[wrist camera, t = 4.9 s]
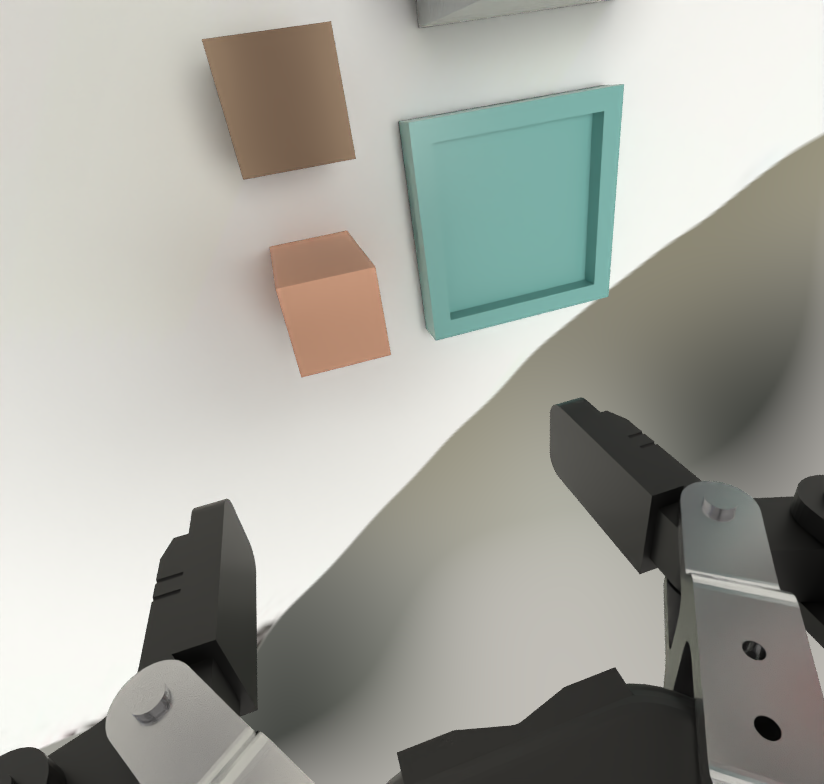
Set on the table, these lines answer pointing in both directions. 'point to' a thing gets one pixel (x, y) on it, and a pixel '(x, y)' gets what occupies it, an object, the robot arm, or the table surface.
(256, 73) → the walnut block
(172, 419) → the table surface
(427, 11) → the grey unit
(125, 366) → the table surface
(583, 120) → the teal tray
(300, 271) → the terracotta block
